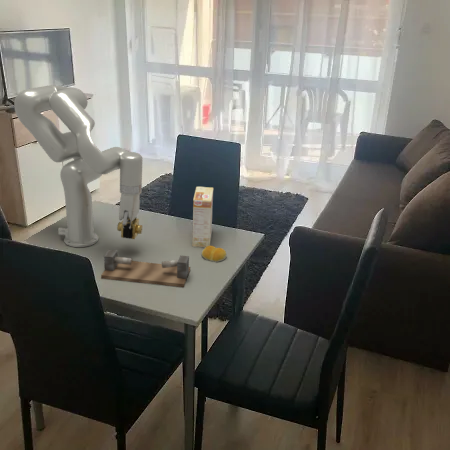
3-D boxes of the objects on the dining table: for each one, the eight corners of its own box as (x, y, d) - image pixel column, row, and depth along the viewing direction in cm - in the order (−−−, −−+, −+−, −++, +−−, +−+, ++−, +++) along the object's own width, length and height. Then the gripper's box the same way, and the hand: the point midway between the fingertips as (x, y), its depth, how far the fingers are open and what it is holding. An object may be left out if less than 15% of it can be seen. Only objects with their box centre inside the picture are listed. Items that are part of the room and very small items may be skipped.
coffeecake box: (194, 230, 205) (196, 186, 198) (212, 231, 205) (214, 187, 197) (191, 246, 192) (192, 199, 184) (209, 247, 192) (211, 200, 184)
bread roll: (221, 264, 180) (222, 254, 179) (199, 259, 183) (199, 249, 181) (229, 255, 187) (230, 245, 186) (207, 250, 190) (208, 240, 189)
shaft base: (101, 278, 166) (100, 259, 163) (112, 261, 177) (112, 243, 174) (183, 287, 164) (184, 268, 161) (190, 270, 175) (190, 251, 172)
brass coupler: (116, 236, 180) (116, 221, 177) (120, 230, 184) (120, 216, 182) (139, 239, 179) (139, 224, 176) (142, 234, 184) (143, 219, 181)
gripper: (127, 178, 182) (126, 223, 189) (112, 194, 166) (112, 243, 174) (147, 181, 181) (146, 226, 189) (134, 197, 166) (133, 246, 173)
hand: (129, 234), depth 181 cm, fingers closed on brass coupler, 5 cm apart
